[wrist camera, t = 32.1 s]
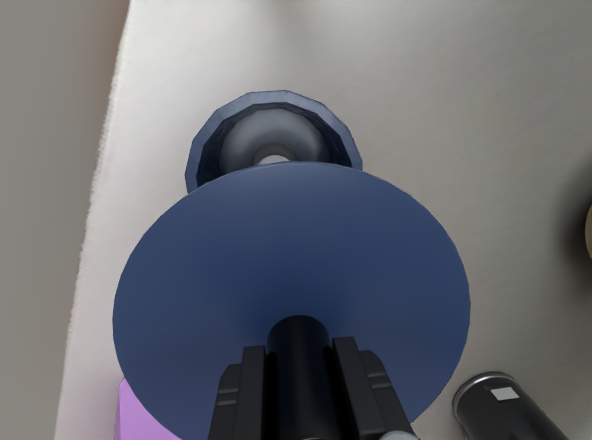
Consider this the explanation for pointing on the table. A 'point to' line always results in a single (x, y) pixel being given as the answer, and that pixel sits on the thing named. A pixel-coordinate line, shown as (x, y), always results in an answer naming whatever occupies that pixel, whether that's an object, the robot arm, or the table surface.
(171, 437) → the purple table lamp
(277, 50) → the table surface
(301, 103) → the pot
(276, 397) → the lid
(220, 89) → the table surface
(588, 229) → the ceramic bowl
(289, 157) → the rook chess piece
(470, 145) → the table surface
